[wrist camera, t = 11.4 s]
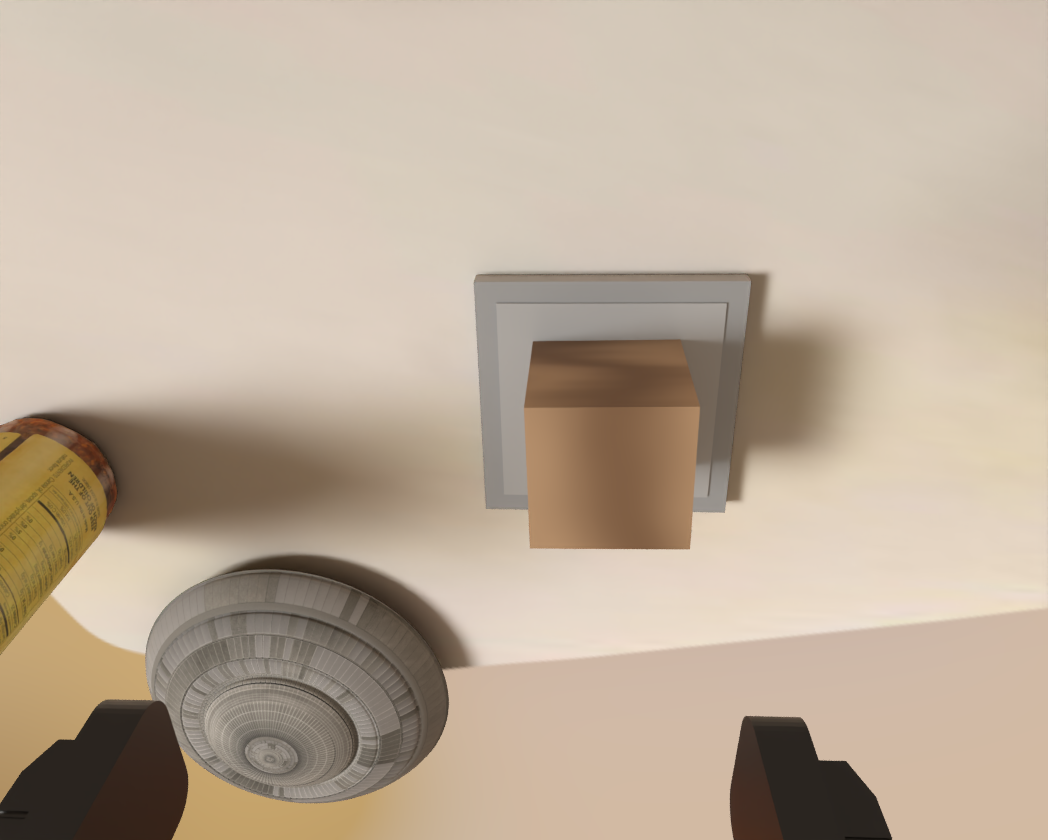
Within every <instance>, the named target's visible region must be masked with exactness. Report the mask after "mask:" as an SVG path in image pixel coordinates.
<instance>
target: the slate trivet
mask: <svg viewBox="0 0 1048 840" xmlns="http://www.w3.org/2000/svg"><path fill="white" fill-rule="evenodd" d="M750 288H751V280H750V278H749V277H748V275H747V274H691V275H476V277H475V280H474V294H475V312H476V331H477V349H478V368H479V386H480V404H481V423H482V441H483V460H484V478H485V496H486V509H528V489H527V467H526V444H525V421H524V404H525V396H526V389H527V381H528V374H529V366H530V359H531V351H532V344H533V341H597V340H674V339H680V340H681V343H682V346H683V350H684V353H685V357H686V360H687V364H688V367H689V370H690V374H691V377H692V381H693V384H694V388H695V391H696V394H697V398H698V401H699V405H700V415H699V429H698V443H697V457H696V471H695V484H694V498H693V512H723V513H725V506H726V498H727V489H728V480H729V471H730V463H731V454H732V445H733V436H734V428H735V419H736V410H737V402H738V393H739V384H740V375H741V367H742V358H743V349H744V340H745V332H746V323H747V314H748V305H749V297H750Z"/></svg>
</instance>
